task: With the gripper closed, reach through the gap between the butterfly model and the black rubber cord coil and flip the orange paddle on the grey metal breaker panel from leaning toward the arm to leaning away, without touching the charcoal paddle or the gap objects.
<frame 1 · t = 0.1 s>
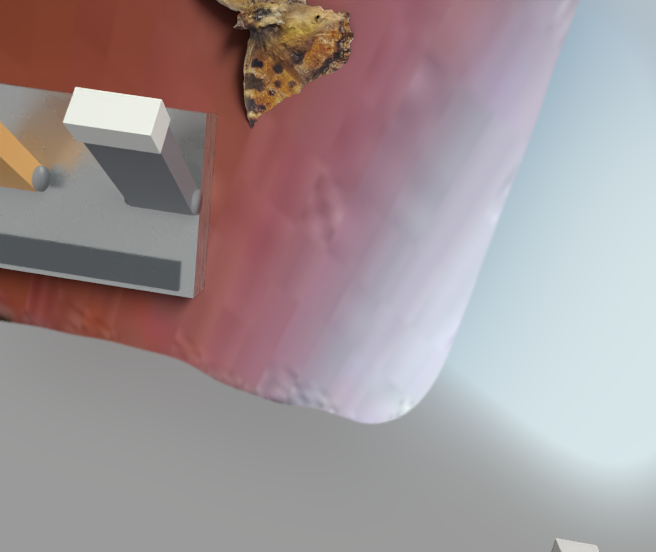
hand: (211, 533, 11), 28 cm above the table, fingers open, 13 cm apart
butterfly model: (275, 23, 35), on the table
paddle charcoal: (144, 164, 30), point 7 cm above the table, hinge at -35.0°
breaker panel: (69, 183, 38), on the table
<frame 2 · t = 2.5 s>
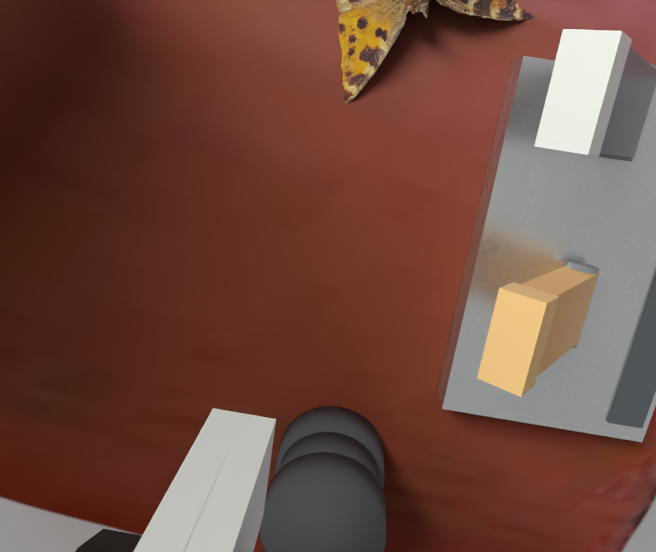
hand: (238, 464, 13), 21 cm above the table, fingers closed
paddle charcoal: (607, 105, 24), point 7 cm above the table, hinge at -35.0°
breaker panel: (572, 255, 32), on the table
cord coil: (332, 452, 38), on the table
paddle orange: (547, 319, 27), point 7 cm above the table, hinge at -35.0°
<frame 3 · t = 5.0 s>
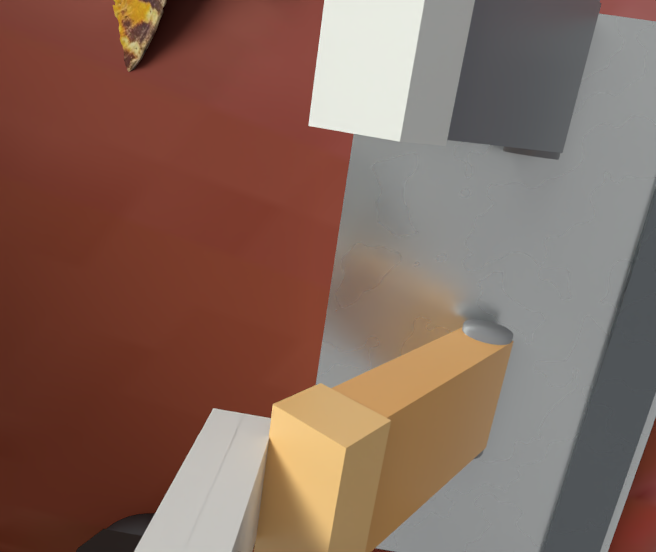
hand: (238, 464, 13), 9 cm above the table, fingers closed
paddle charcoal: (492, 52, 13), point 7 cm above the table, hinge at -35.0°
breaker panel: (486, 303, 21), on the table
paddle orange: (411, 431, 15), point 7 cm above the table, hinge at -35.0°, touching gripper
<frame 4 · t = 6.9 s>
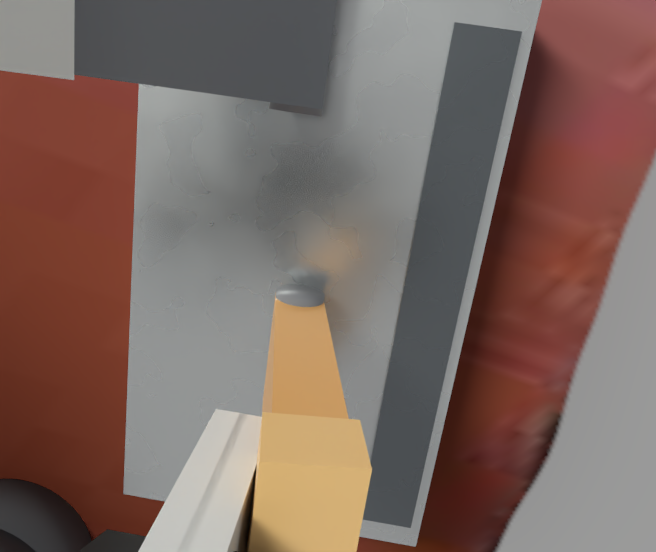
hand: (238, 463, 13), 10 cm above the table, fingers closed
paddle charcoal: (189, 1, 13), point 7 cm above the table, hinge at -35.0°
breaker panel: (307, 267, 22), on the table
cord coil: (23, 540, 27), on the table
paddle orange: (295, 418, 15), point 8 cm above the table, hinge at 9.8°, touching gripper
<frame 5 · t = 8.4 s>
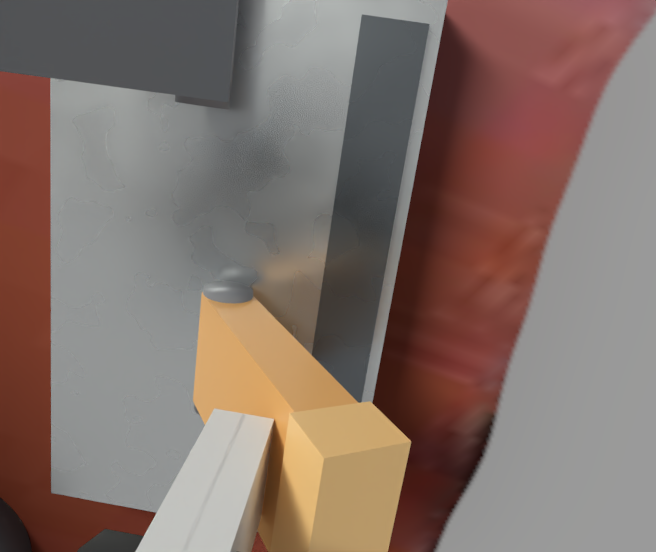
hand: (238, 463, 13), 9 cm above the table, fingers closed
breaker panel: (235, 264, 21), on the table
paddle orange: (266, 413, 15), point 7 cm above the table, hinge at 32.7°, touching gripper
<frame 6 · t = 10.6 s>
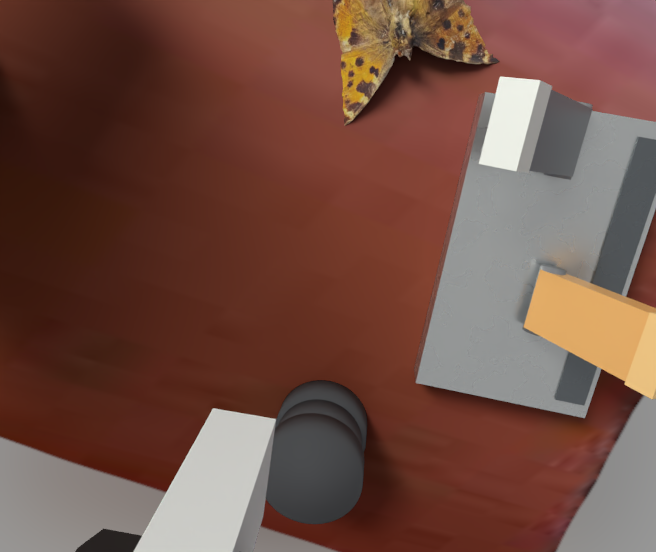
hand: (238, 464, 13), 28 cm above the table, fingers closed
butterfly model: (400, 34, 37), on the table
paddle charcoal: (543, 134, 30), point 7 cm above the table, hinge at -35.0°
breaker panel: (529, 257, 39), on the table
cord coil: (323, 420, 44), on the table
paddle orange: (596, 324, 32), point 7 cm above the table, hinge at 32.9°
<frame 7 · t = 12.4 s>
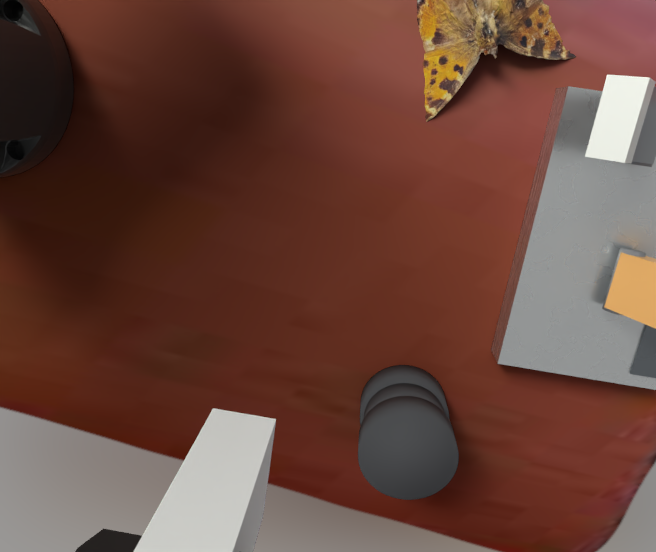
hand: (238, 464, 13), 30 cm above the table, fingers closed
butterfly model: (479, 33, 39), on the table
paddle charcoal: (635, 125, 32), point 7 cm above the table, hinge at -35.0°
breaker panel: (602, 241, 41), on the table
cord coil: (402, 403, 46), on the table
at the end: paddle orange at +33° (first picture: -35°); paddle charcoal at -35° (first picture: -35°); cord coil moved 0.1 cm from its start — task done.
